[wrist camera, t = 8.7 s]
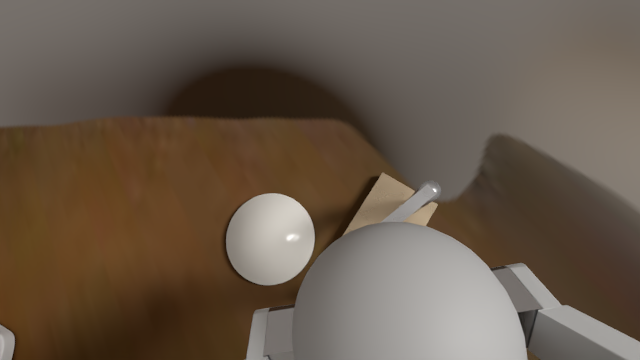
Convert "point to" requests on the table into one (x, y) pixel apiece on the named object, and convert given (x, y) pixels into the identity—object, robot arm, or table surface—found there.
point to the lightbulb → (403, 301)
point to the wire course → (396, 204)
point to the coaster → (270, 239)
